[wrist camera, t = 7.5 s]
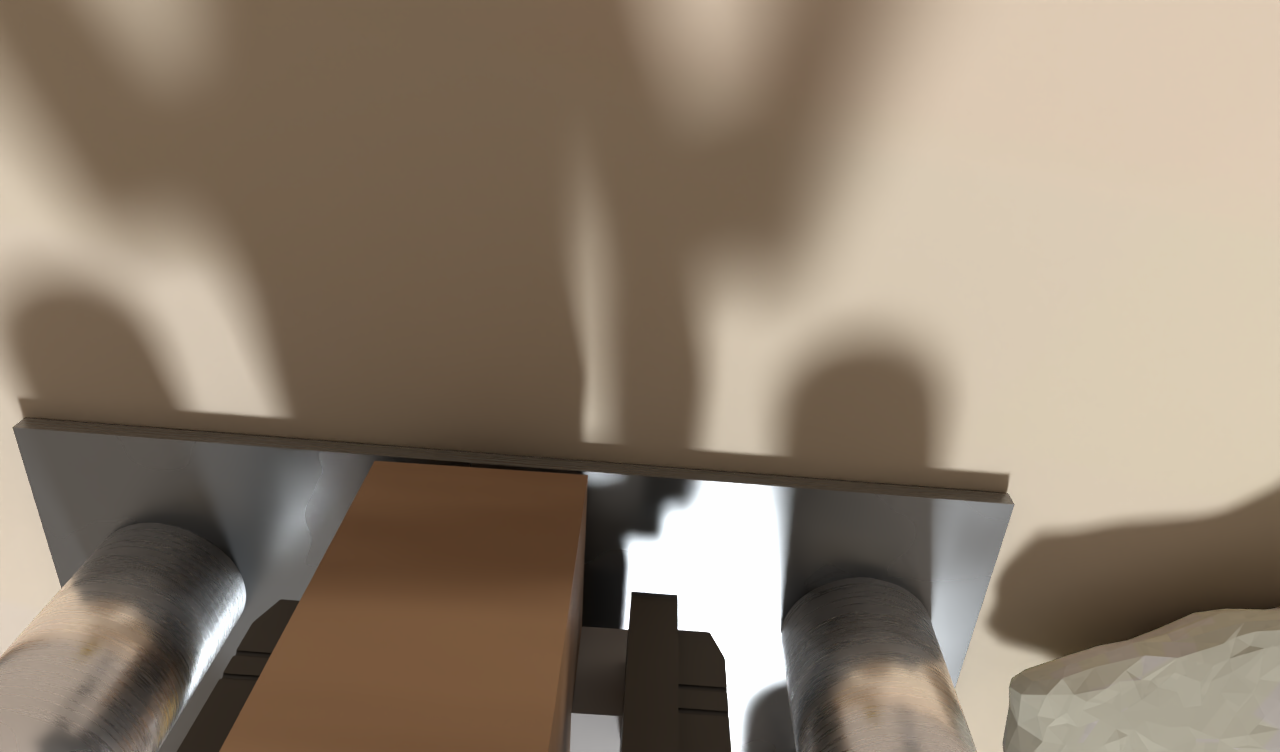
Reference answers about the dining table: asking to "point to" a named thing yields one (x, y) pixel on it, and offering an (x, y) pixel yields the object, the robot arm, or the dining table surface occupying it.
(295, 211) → the dining table surface
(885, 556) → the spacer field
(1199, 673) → the stone tool
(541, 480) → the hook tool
